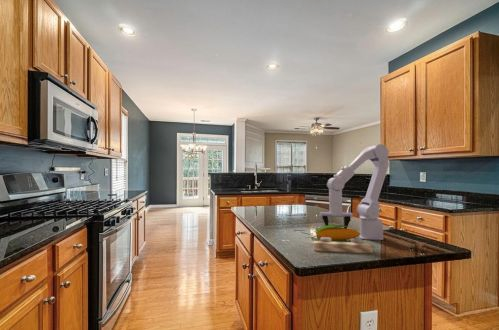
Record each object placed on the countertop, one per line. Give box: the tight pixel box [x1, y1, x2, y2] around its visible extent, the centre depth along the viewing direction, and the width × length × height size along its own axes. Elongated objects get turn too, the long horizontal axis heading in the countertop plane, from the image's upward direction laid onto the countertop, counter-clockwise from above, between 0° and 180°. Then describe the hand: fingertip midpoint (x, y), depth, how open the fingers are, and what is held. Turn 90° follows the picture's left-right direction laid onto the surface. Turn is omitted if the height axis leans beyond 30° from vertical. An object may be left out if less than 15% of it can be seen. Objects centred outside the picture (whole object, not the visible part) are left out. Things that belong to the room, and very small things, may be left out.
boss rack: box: [313, 237, 374, 254], centre depth 102 cm, size 22×7×4 cm, turn 78°
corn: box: [315, 224, 360, 242], centre depth 112 cm, size 7×8×20 cm
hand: (336, 232), depth 116 cm, fingers open, 7 cm apart
